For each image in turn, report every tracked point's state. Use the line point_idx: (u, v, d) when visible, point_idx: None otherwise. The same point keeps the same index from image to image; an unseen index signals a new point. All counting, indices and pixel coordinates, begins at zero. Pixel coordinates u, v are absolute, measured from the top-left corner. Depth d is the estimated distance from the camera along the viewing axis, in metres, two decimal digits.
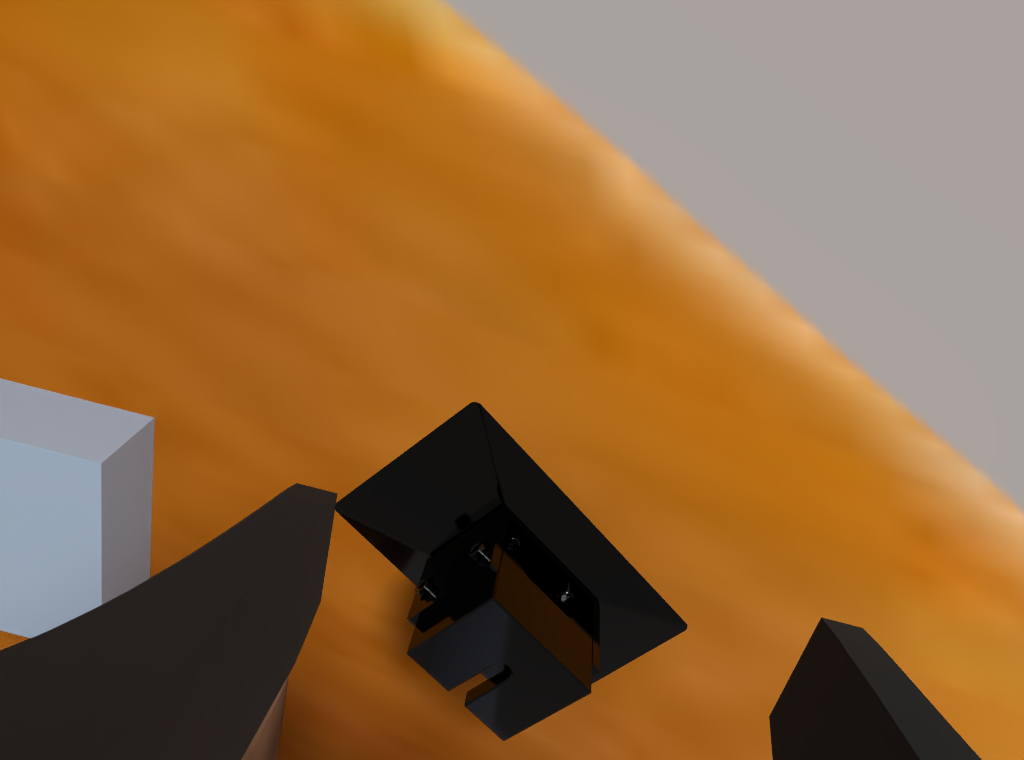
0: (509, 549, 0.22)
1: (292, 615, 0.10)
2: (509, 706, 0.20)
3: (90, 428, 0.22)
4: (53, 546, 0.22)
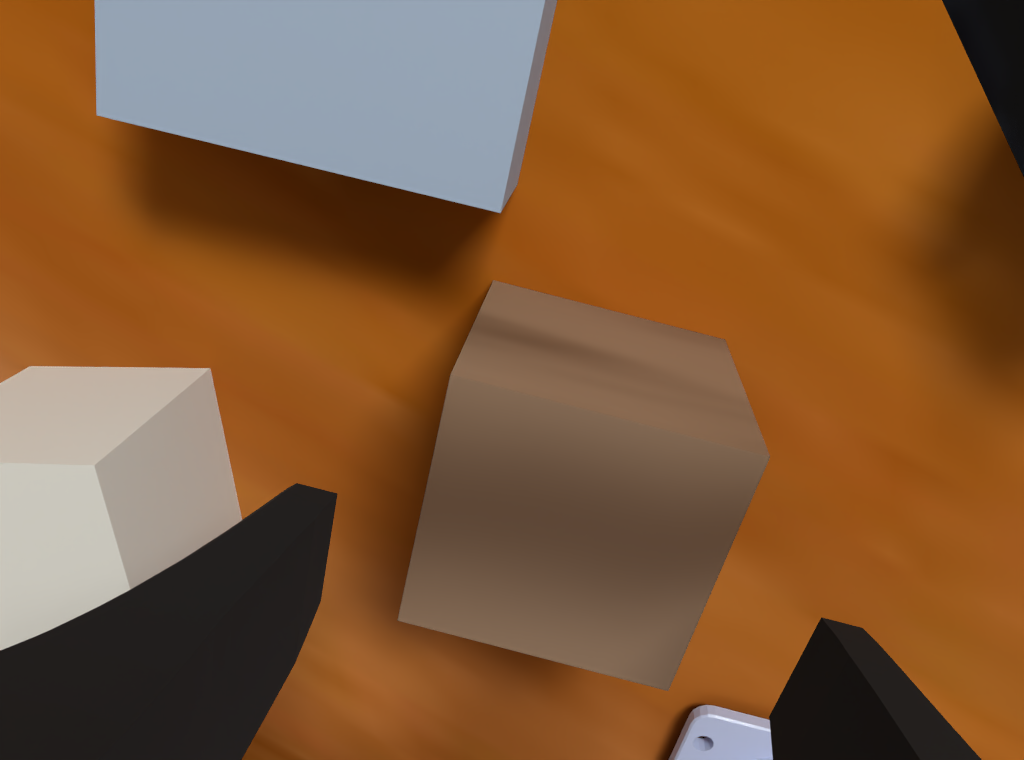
0: None
1: (292, 615, 0.10)
2: None
3: None
4: None
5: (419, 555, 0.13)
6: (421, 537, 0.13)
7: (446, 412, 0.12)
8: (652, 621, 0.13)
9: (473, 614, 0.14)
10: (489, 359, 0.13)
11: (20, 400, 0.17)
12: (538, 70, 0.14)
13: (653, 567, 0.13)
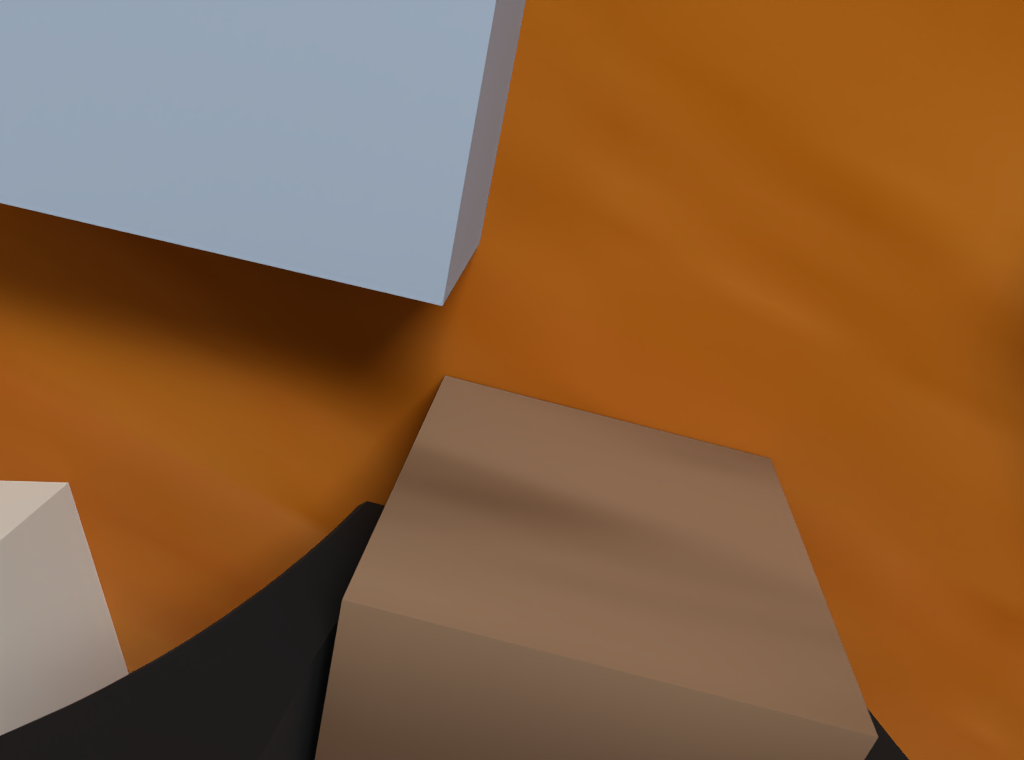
0: None
1: None
2: None
3: None
4: None
5: None
6: None
7: (339, 654, 0.07)
8: None
9: None
10: (415, 552, 0.08)
11: None
12: (502, 80, 0.09)
13: None
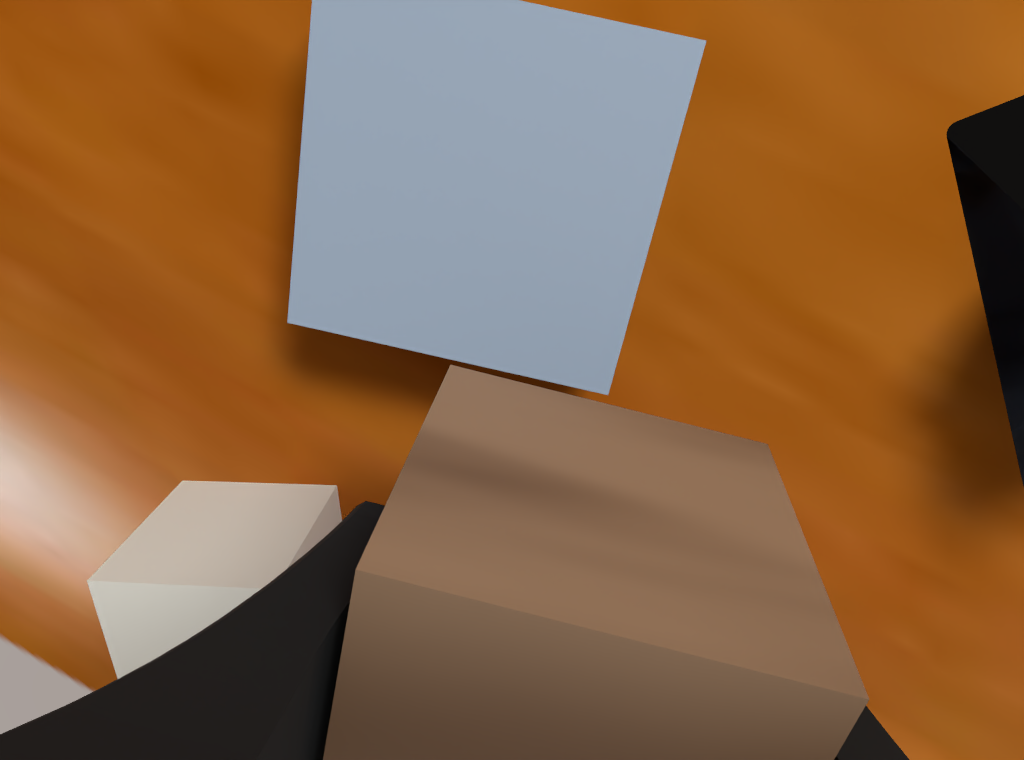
0: None
1: None
2: None
3: None
4: (585, 206, 0.15)
5: None
6: None
7: (352, 623, 0.08)
8: None
9: None
10: (424, 526, 0.08)
11: (188, 518, 0.20)
12: None
13: None
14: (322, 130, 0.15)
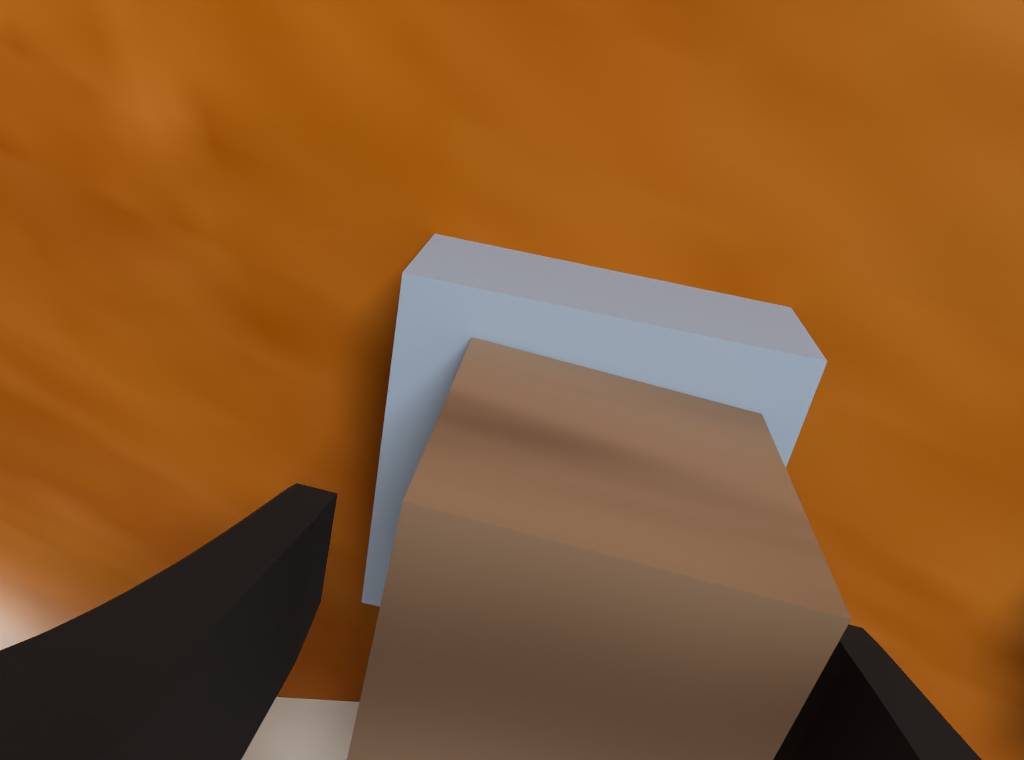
0: None
1: (292, 615, 0.10)
2: None
3: (742, 317, 0.14)
4: None
5: (364, 727, 0.10)
6: (366, 705, 0.10)
7: (397, 550, 0.09)
8: None
9: None
10: (460, 469, 0.09)
11: None
12: None
13: (682, 752, 0.09)
14: (404, 431, 0.14)
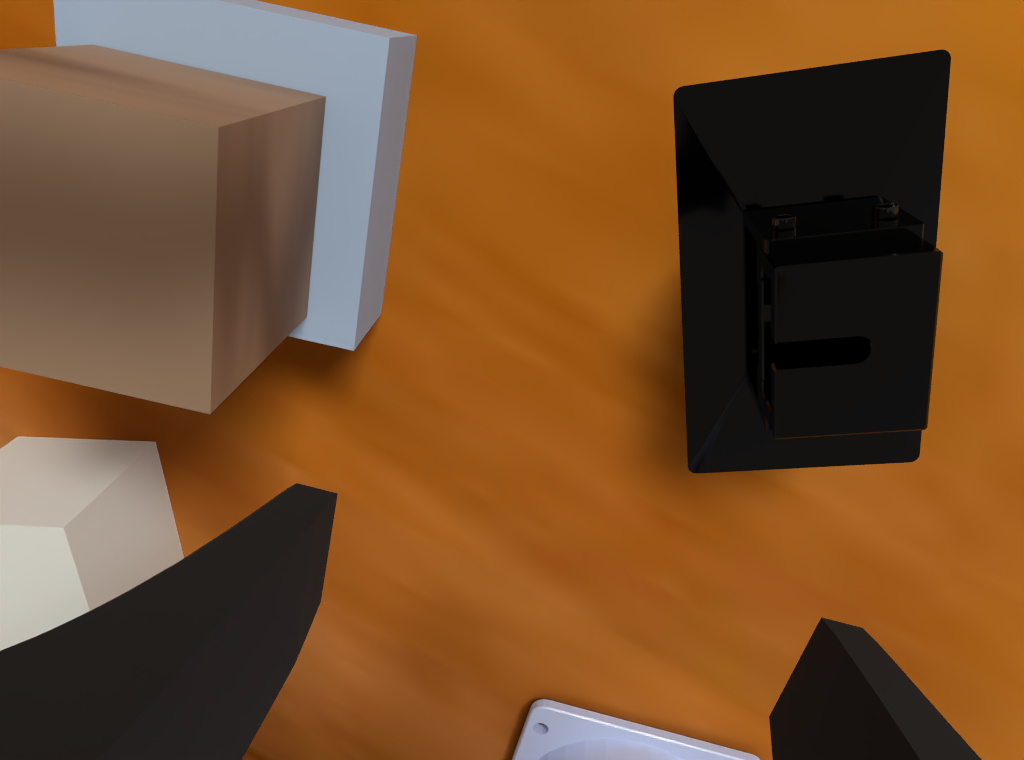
0: None
1: (292, 615, 0.10)
2: (825, 398, 0.16)
3: (353, 25, 0.17)
4: None
5: None
6: None
7: None
8: (170, 332, 0.13)
9: (5, 339, 0.14)
10: None
11: (10, 468, 0.22)
12: (383, 244, 0.19)
13: (152, 269, 0.13)
14: None
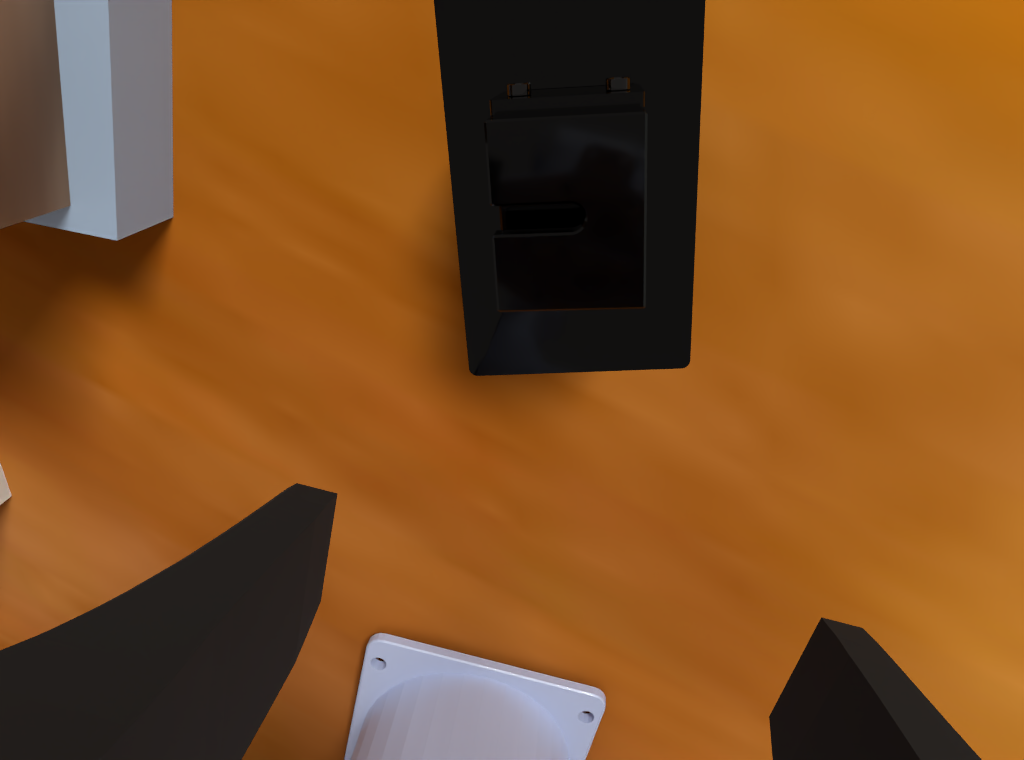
0: None
1: (292, 615, 0.10)
2: (543, 268, 0.16)
3: None
4: None
5: None
6: None
7: None
8: None
9: None
10: None
11: None
12: (154, 136, 0.19)
13: None
14: None
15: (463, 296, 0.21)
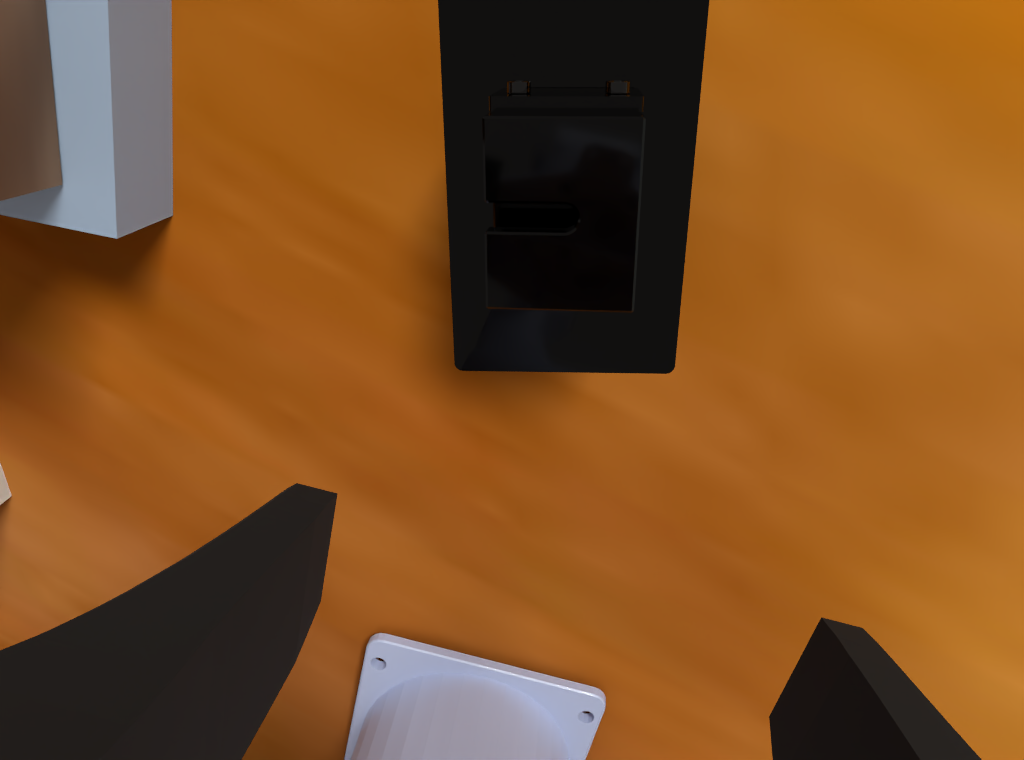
0: None
1: (292, 615, 0.10)
2: (534, 268, 0.16)
3: None
4: None
5: None
6: None
7: None
8: None
9: None
10: None
11: None
12: (154, 134, 0.19)
13: None
14: None
15: (452, 290, 0.21)
